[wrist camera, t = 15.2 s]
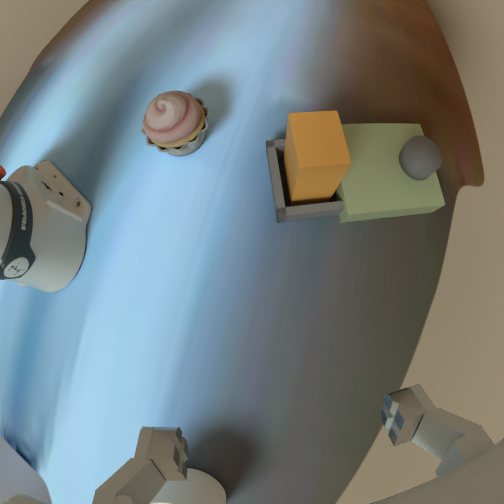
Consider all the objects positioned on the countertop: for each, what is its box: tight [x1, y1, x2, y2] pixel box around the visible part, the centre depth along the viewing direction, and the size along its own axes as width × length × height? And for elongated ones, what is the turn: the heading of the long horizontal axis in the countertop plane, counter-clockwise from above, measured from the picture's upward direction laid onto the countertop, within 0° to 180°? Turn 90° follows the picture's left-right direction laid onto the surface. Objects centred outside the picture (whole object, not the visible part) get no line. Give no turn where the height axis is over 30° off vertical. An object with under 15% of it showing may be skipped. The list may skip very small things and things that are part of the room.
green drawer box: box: [266, 123, 445, 223], centre depth 35 cm, size 12×22×7 cm, turn 97°
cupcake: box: [141, 91, 209, 156], centre depth 36 cm, size 9×9×10 cm
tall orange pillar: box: [284, 111, 352, 206], centre depth 33 cm, size 6×5×12 cm
